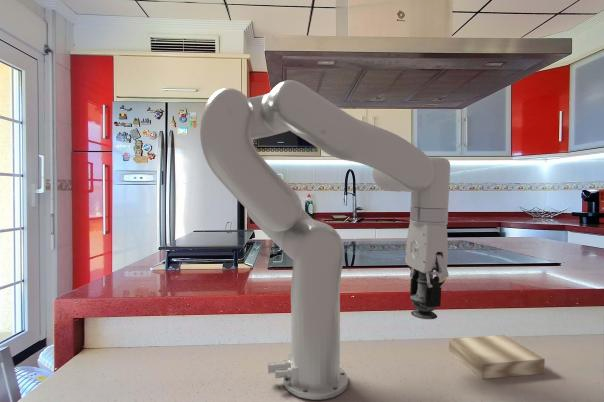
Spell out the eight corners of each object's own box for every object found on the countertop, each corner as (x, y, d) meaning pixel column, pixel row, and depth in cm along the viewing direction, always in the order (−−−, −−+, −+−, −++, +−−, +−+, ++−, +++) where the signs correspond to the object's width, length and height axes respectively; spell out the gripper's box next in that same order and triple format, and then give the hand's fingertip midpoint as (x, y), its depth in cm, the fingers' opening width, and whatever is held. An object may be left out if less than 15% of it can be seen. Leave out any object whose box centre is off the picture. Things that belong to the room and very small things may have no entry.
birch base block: (481, 378, 73) (482, 364, 73) (448, 351, 85) (449, 338, 85) (544, 373, 75) (544, 358, 75) (503, 347, 87) (503, 334, 87)
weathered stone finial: (440, 321, 75) (443, 262, 74) (410, 318, 76) (413, 260, 75) (436, 311, 80) (439, 257, 80) (408, 309, 82) (411, 255, 81)
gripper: (395, 212, 85) (391, 289, 86) (432, 220, 68) (427, 315, 69) (425, 213, 86) (421, 289, 87) (469, 220, 69) (464, 315, 70)
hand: (424, 300), depth 78 cm, fingers closed on weathered stone finial, 5 cm apart
